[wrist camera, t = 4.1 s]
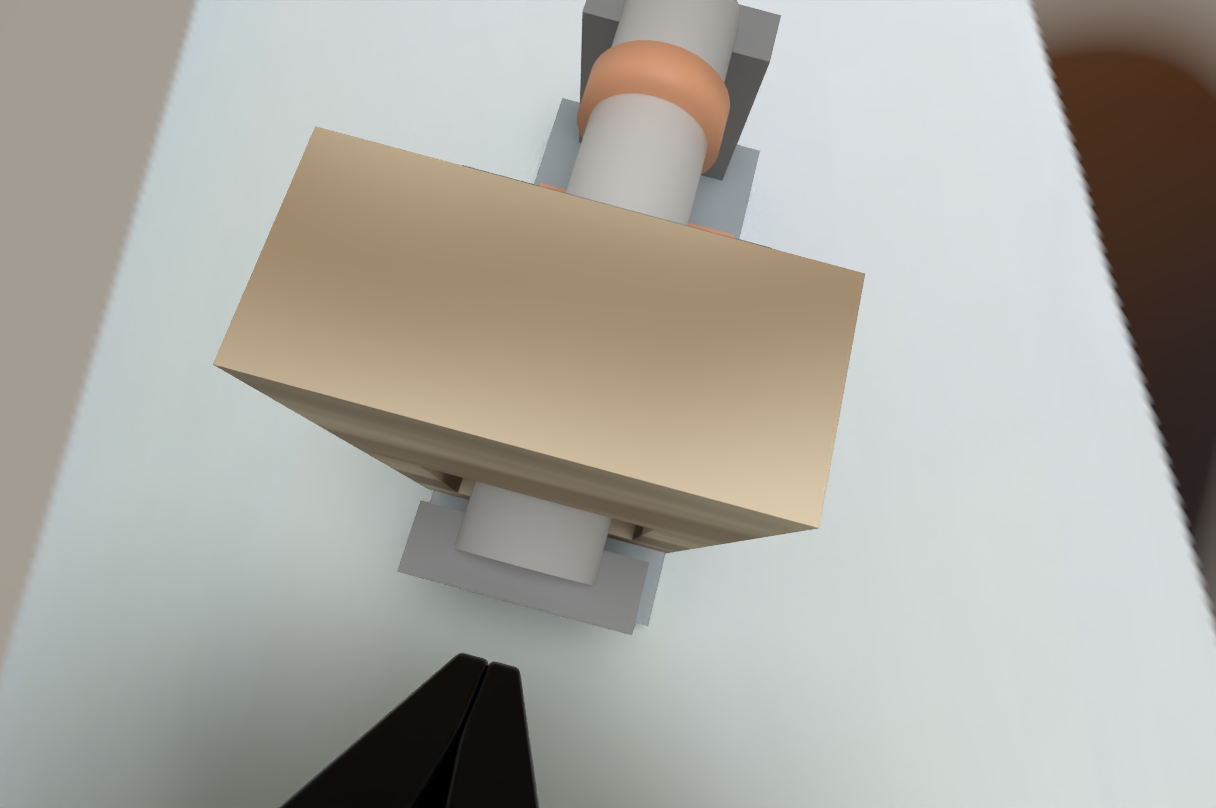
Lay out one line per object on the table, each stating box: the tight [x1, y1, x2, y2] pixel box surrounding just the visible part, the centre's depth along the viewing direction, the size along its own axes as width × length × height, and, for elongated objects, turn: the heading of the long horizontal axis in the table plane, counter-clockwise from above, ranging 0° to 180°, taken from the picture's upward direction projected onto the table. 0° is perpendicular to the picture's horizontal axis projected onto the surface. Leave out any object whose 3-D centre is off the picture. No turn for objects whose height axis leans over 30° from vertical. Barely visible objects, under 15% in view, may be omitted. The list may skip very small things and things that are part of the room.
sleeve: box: [213, 126, 865, 553], centre depth 13 cm, size 3×7×11 cm, turn 75°
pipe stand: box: [398, 0, 781, 635], centre depth 18 cm, size 16×7×9 cm, turn 165°
